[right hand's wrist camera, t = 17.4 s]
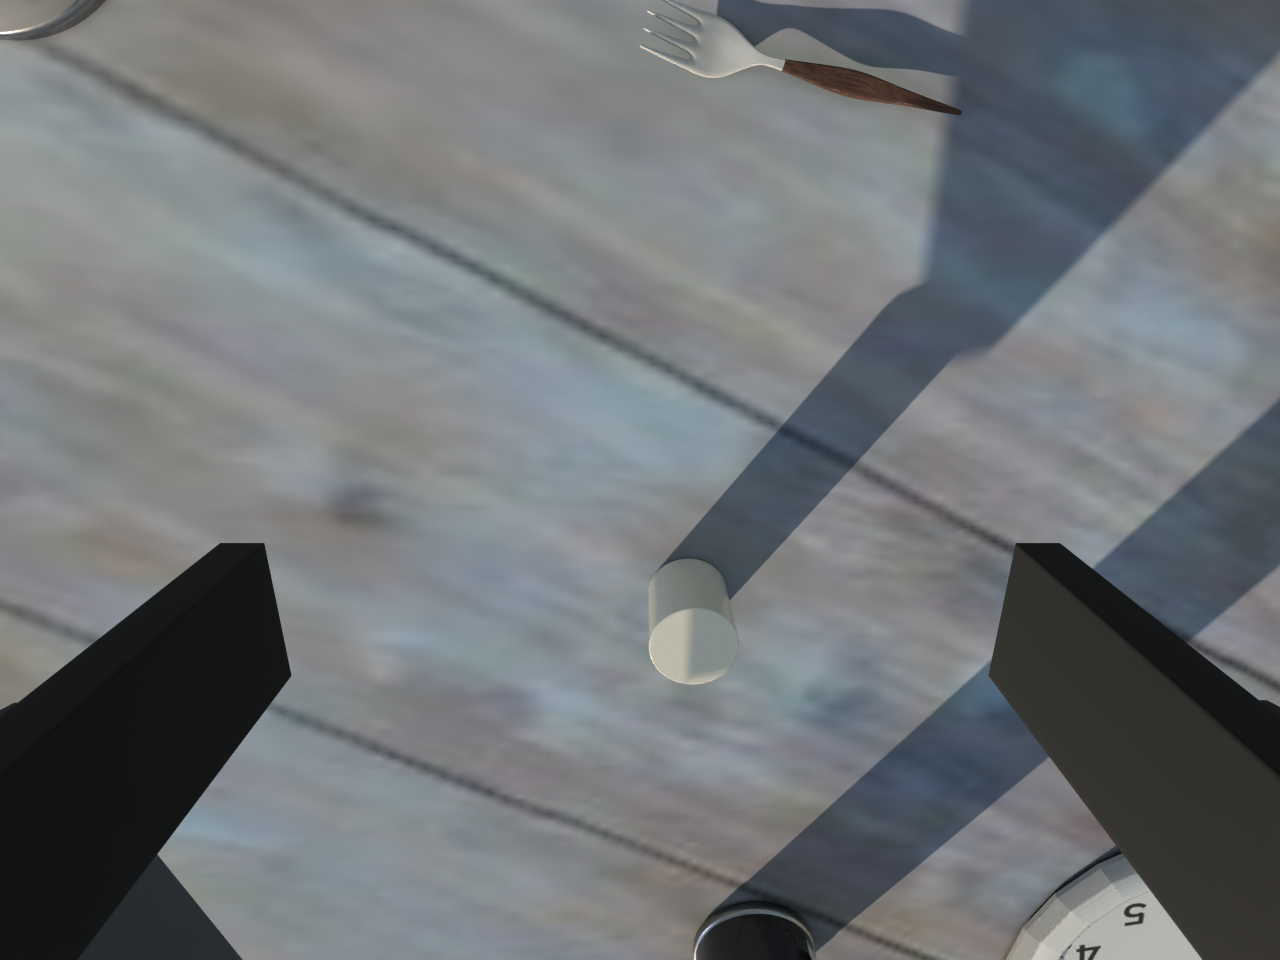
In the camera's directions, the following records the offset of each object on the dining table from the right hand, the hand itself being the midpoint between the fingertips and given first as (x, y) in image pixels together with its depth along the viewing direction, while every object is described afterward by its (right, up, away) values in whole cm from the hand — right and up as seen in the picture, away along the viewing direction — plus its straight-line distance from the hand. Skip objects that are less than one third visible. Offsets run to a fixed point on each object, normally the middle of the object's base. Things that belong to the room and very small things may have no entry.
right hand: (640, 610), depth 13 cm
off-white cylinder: (+3, -5, +33) cm, 33 cm away
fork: (+8, +22, +22) cm, 33 cm away
